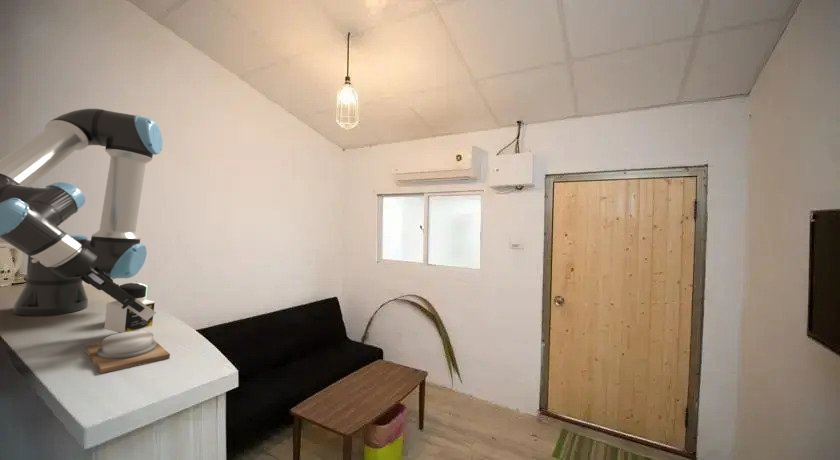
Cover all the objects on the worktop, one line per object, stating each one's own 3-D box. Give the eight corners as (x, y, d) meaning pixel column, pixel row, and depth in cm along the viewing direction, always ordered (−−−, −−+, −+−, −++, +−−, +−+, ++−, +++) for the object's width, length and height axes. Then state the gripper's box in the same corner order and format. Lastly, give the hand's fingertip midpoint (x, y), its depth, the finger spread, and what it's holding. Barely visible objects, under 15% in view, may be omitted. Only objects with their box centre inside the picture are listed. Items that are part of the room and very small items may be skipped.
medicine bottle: (124, 334, 82) (129, 288, 82) (103, 329, 84) (107, 284, 83) (152, 326, 89) (157, 284, 89) (132, 321, 91) (136, 280, 90)
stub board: (84, 349, 76) (86, 333, 76) (148, 338, 86) (149, 324, 86) (100, 373, 67) (102, 355, 67) (169, 358, 77) (171, 341, 77)
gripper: (42, 260, 80) (121, 312, 93) (55, 278, 67) (144, 335, 81) (75, 240, 84) (145, 292, 97) (93, 253, 71) (172, 311, 85)
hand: (145, 311), depth 89 cm, fingers closed on medicine bottle, 9 cm apart
